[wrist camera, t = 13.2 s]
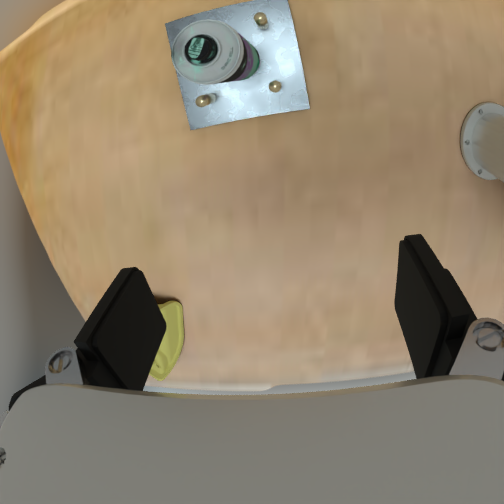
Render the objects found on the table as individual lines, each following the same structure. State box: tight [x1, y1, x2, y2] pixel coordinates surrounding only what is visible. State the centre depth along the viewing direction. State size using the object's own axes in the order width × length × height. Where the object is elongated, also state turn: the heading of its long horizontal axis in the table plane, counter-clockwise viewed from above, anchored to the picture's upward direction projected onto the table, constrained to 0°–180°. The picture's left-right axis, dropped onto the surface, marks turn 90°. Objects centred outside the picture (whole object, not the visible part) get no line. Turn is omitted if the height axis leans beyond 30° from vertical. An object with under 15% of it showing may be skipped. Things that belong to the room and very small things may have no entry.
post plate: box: [165, 0, 310, 130], centre depth 33 cm, size 16×16×6 cm
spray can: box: [171, 19, 260, 85], centre depth 26 cm, size 6×6×20 cm
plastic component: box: [149, 301, 184, 381], centre depth 62 cm, size 20×7×10 cm
